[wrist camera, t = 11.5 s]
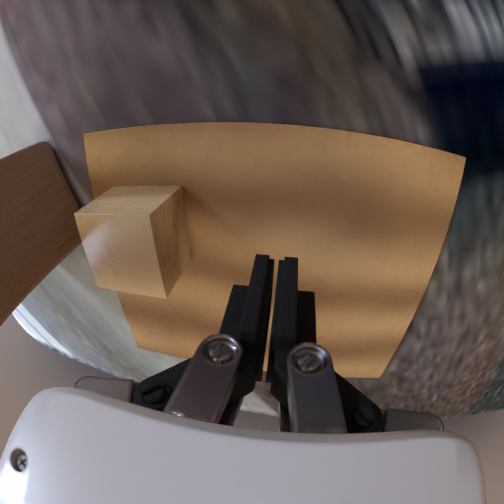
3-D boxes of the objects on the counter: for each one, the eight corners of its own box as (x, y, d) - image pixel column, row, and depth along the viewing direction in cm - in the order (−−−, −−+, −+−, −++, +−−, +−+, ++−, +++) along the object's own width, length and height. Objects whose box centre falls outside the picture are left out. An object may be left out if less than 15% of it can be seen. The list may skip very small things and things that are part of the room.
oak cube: (113, 186, 20) (73, 213, 16) (182, 185, 19) (149, 215, 15) (127, 252, 23) (97, 287, 19) (191, 258, 22) (167, 299, 18)
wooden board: (84, 133, 18) (83, 134, 18) (464, 157, 15) (466, 157, 14) (138, 346, 31) (137, 347, 30) (379, 376, 27) (379, 377, 27)
